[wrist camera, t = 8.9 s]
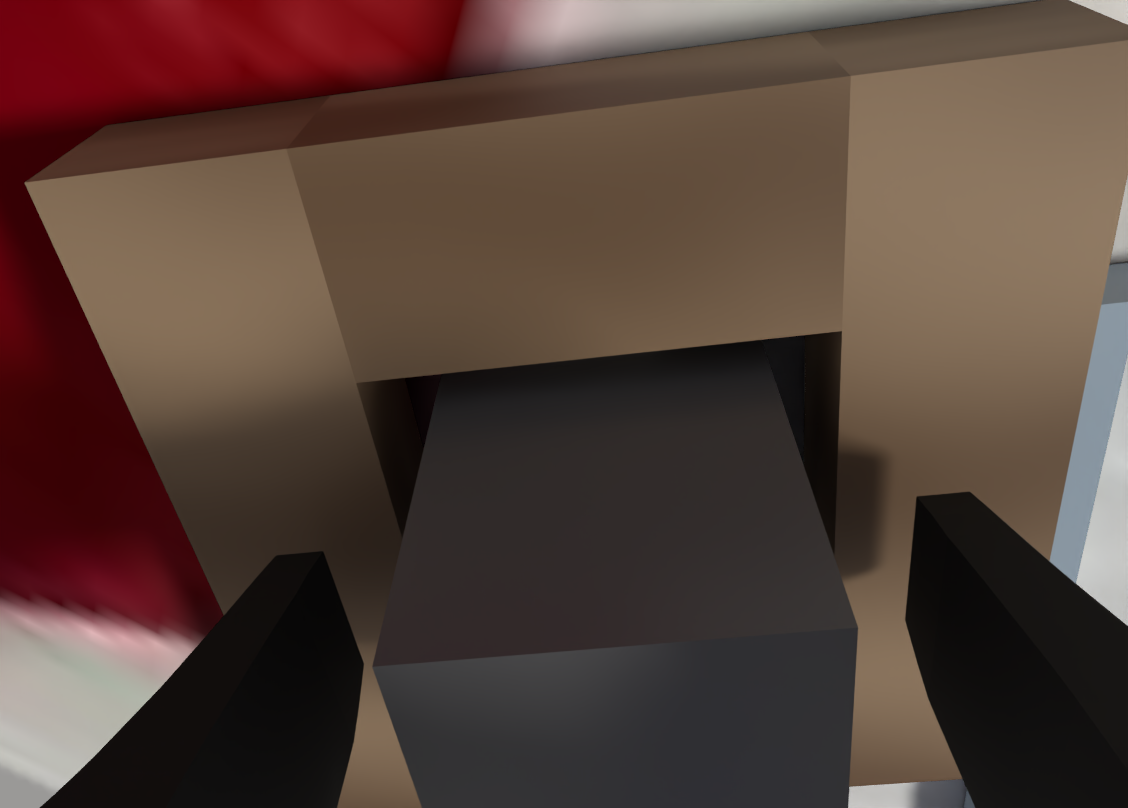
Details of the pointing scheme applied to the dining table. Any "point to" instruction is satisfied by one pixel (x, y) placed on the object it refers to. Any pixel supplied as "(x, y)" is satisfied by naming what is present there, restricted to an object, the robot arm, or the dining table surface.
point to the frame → (1092, 427)
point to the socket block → (621, 290)
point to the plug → (618, 594)
